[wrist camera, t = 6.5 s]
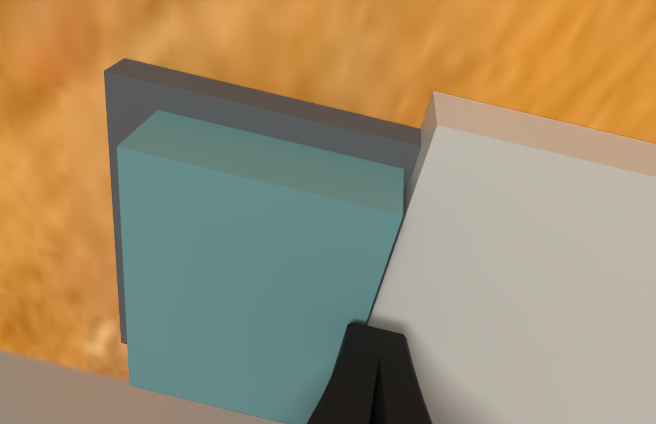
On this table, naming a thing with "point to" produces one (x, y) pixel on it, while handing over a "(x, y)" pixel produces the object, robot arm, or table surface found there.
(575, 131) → the plinth
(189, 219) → the tile
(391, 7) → the table surface
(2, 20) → the table surface
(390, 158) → the mat
